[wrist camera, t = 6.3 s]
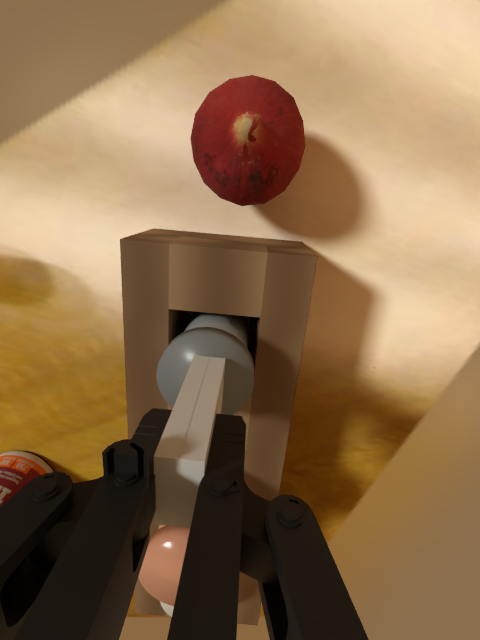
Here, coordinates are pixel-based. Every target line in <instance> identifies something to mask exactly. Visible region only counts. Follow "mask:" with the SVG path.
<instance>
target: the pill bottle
mask: <svg viewBox="0 0 480 640" xmlns="http://www.w3.org/2000/svg"><path fill="white" fill-rule="evenodd" d="M52 472H53V470H52V469H51V468H50V466H49V465H48V464H47V463H46V462H45V461H43V460H42V459H41V458H39V457H37V456H35V455H33V454H31V453H28V452H23V451H11V452H6V453H3V454H1V455H0V507H1V506H2V505H3V504H4V503H6V502H7V501H8V500H9V499H10V498H11V497H12V496H14V495H15V494H16V493H17V492H18V491H19V490H20V489H21V488H23V487H24V486H25V485H26V484H27V483H29V482H30V481H32V480H33V479H34V478H36V477H38V476H41V475H43V474H46V473H52Z"/></svg>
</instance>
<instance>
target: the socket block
mask: <svg viewBox="0 0 480 640" xmlns="http://www.w3.org/2000/svg"><path fill="white" fill-rule="evenodd" d="M120 249H121V273H122V297H123V322H124V346H125V370H126V394H127V418H128V439H132V437H133V435H134V434H135V431H136V429H137V427H138V426H139V423H140V421H141V419H142V417H143V416H144V415H145V414H146V413H147V412H149V411H150V410H151V409H152V408H158V409H168V410H172V409H173V408H172V407H171V406H170V405H169V404H168V403H167V402H166V401H165V399H164V398H163V396H162V394H161V393H160V390H159V388H158V384H157V377H156V374H157V367H158V363H159V361H160V358H161V357H162V355H163V353H164V351H165V350H166V348H167V346H168V345H169V344H170V342H171V341H172V340H173V339H174V338H175V337H176V336H178V335H179V334H181V333H183V332H184V331H185V329H186V327H187V325H188V311H195V312H206V313H217V314H227V315H238V316H249V317H256V325H255V334H254V344H253V353H252V352H250V354H251V356H252V359H253V363H254V388H253V392H252V394H251V397H250V399H249V400H248V402H247V403H246V405H245V406H244V407H243V408H242V409H241V410H239V411H238V412H237V413H235V414H234V415H237V416H242V418H243V420H244V422H245V424H246V440H245V459H244V480H245V483H246V485H247V486H248V488H249V489H250V490H251V491H252V492H253V493H255V494H256V495H258V496H260V497H262V498H264V499H267V500H269V501H271V500H273V499H274V498H275V497H277V496H279V490H280V484H281V477H282V471H283V465H284V459H285V453H286V447H287V440H288V434H289V428H290V422H291V416H292V410H293V403H294V397H295V391H296V385H297V379H298V373H299V366H300V360H301V354H302V348H303V342H304V336H305V329H306V323H307V317H308V311H309V305H310V299H311V292H312V286H313V280H314V274H315V268H316V262H317V256H316V255H315V254H314V253H313V252H312V251H311V250H310V249H309V248H308V247H307V246H306V245H304V244H303V243H302V242H298V241H287V240H276V239H264V238H253V237H242V236H231V235H220V234H208V233H197V232H186V231H175V230H164V229H151V230H148V231H145V232H141V233H138V234H135V235H132V236H129V237H126V238H122V239H120ZM158 528H159V525H156V524H154V516H153V519H152V522H151V525H150V536H151V535H152V534H153V533H154V532H155V531H157V530H158ZM260 607H261V596H260V592H259V587H258V582H257V580H256V579H254V578H252V577H250V576H248V575H246V574H244V573H242V572H240V574H239V593H238V613H237V623H238V624H248V625H258V619H259V613H260ZM135 612H136V613H141V614H150V615H160V616H169V615H168V614H167V613H166V612H165V611H164V609H163V608H162V606H161V603H160V601H159V600H157V599H156V598H154V597H153V596H152V595H150V594H149V593H148V592H147V591H146V590H145V589H144V587H143V586H142V584H141V582H140V580H139V577H138V579H137V583H136V586H135ZM170 617H171V616H170Z"/></svg>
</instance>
